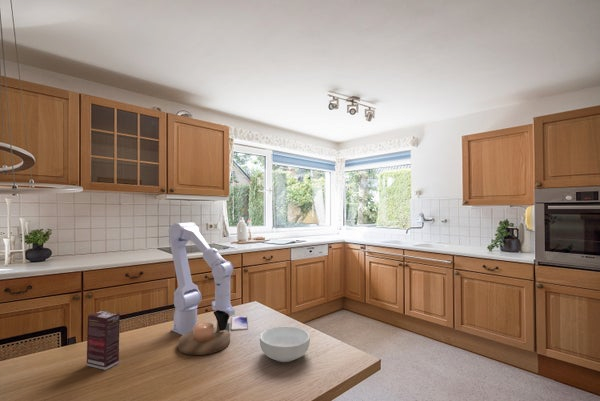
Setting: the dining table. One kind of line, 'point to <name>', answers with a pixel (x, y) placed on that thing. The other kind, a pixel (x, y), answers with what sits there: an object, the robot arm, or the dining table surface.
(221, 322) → the robot arm
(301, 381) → the dining table surface
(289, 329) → the cereal bowl
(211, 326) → the peach knob
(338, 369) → the dining table surface
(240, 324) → the smartphone
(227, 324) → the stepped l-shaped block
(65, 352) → the dining table surface
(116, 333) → the supplement box
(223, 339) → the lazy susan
